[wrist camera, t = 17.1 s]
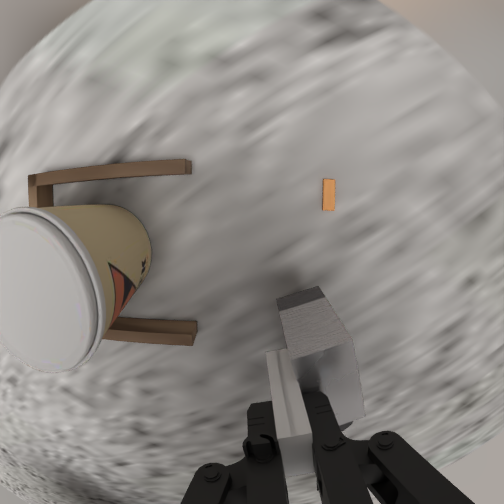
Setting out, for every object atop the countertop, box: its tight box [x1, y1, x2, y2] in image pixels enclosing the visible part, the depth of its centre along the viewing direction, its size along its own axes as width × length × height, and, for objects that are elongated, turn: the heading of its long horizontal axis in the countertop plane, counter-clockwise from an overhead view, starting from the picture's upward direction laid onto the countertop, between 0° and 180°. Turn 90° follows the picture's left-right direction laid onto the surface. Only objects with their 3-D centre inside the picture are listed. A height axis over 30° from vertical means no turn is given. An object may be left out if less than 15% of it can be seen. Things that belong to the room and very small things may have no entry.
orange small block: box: [322, 179, 335, 211], centre depth 23 cm, size 2×1×1 cm, turn 0°
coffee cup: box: [0, 204, 152, 373], centre depth 18 cm, size 9×9×12 cm
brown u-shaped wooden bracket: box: [28, 159, 197, 346], centre depth 23 cm, size 14×14×2 cm
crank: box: [276, 286, 365, 431], centre depth 17 cm, size 12×4×7 cm, turn 18°
